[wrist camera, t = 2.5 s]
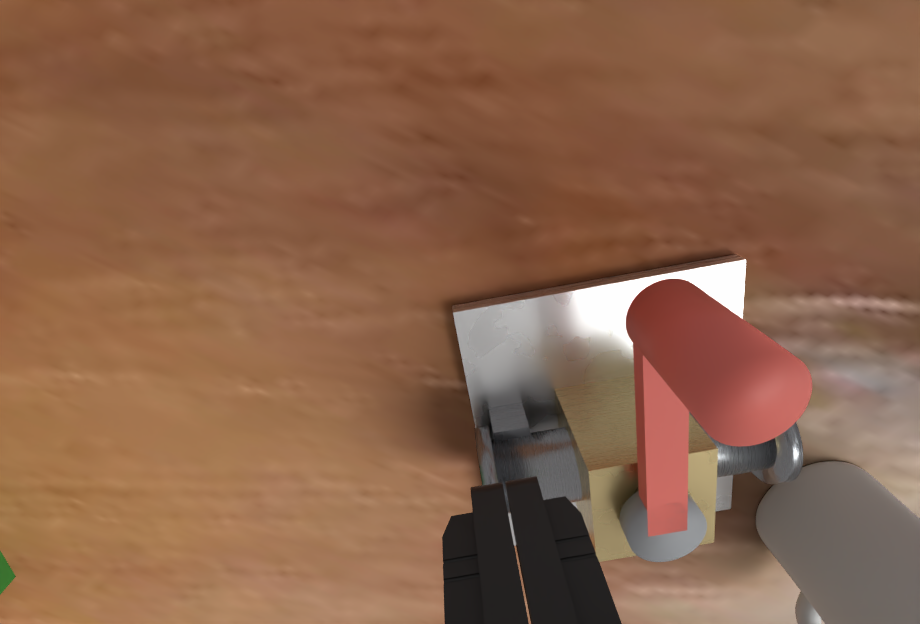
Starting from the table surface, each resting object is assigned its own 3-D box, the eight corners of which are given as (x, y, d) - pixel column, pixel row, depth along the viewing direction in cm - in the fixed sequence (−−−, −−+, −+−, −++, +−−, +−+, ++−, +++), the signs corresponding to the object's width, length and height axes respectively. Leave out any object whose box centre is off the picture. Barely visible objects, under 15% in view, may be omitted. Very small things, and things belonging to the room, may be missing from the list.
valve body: (735, 254, 28) (845, 311, 20) (723, 497, 35) (800, 605, 27) (452, 305, 28) (459, 379, 21) (497, 536, 35) (514, 652, 28)
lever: (693, 534, 24) (781, 681, 18) (621, 546, 24) (684, 696, 18) (699, 259, 19) (830, 339, 13) (604, 276, 19) (688, 363, 13)
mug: (783, 453, 33) (935, 606, 23) (895, 465, 34) (1087, 618, 24) (717, 578, 38) (820, 751, 28) (818, 586, 39) (952, 756, 29)
